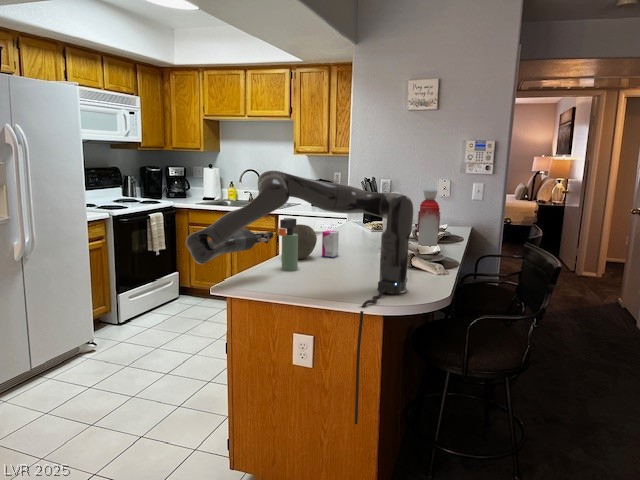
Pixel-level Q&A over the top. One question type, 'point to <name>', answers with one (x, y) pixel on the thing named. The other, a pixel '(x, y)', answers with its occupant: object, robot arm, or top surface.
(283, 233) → the trigger
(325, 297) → the top surface
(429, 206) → the bottle
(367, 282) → the top surface
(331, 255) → the supplement box
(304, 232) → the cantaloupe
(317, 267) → the top surface
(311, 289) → the top surface
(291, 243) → the spray bottle
